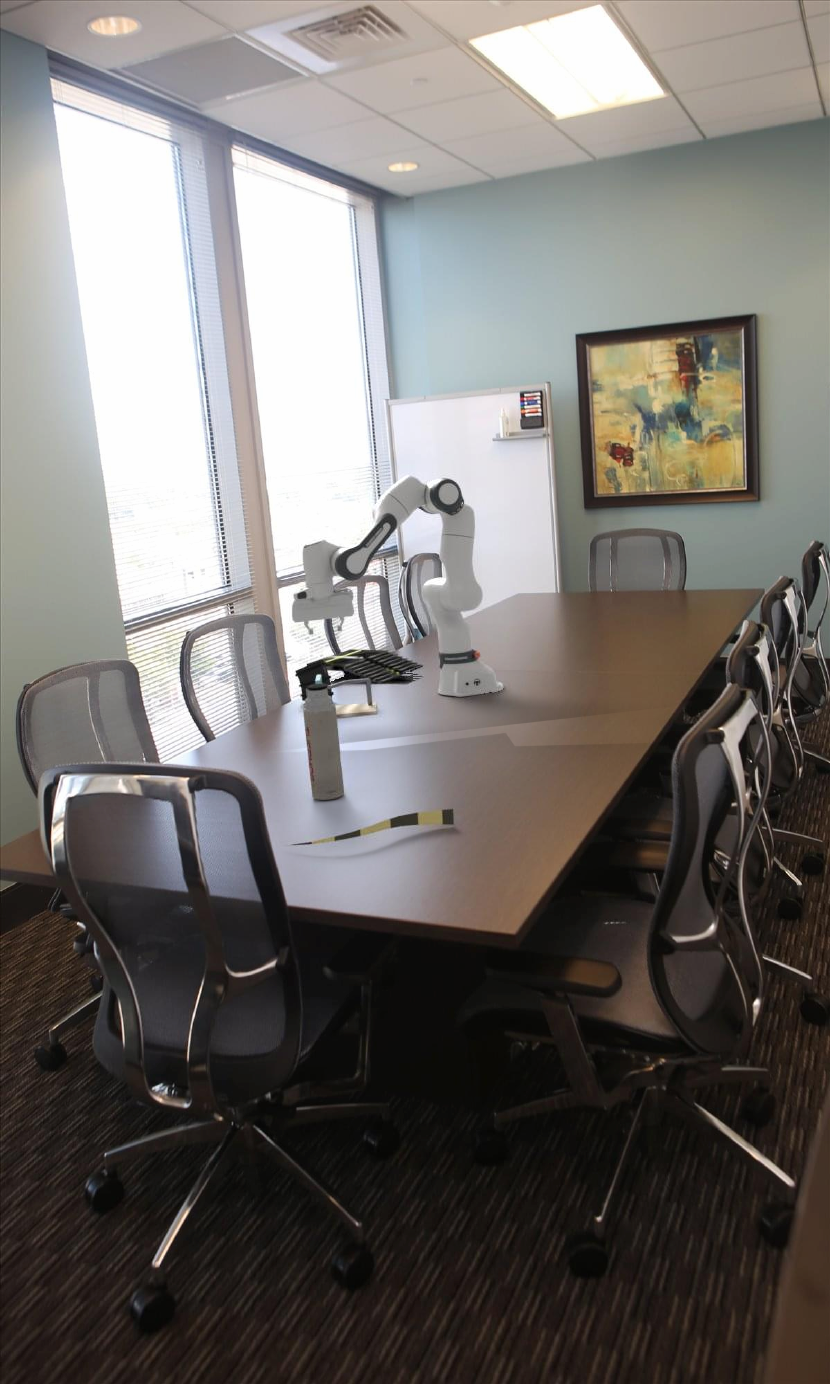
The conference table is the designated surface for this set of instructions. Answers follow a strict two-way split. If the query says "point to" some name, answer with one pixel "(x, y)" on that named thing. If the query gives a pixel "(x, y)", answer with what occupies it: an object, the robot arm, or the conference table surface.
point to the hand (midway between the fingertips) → (325, 632)
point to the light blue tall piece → (318, 679)
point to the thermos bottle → (323, 744)
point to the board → (355, 710)
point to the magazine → (313, 677)
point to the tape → (397, 824)
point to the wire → (368, 682)
